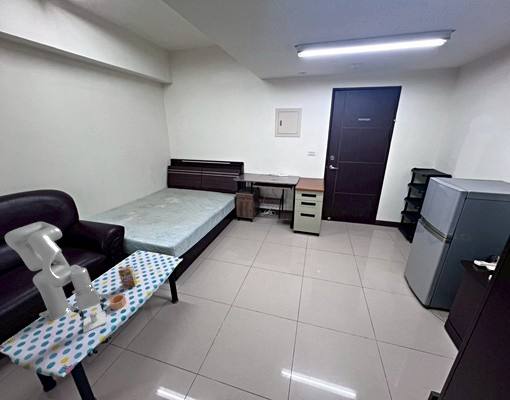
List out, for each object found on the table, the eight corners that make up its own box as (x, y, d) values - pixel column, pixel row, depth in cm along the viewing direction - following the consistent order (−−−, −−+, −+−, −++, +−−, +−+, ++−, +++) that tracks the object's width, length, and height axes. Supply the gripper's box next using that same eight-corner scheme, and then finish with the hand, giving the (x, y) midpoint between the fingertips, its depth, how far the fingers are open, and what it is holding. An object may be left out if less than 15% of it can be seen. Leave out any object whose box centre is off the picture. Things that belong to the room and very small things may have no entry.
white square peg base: (83, 333, 123) (80, 325, 122) (84, 320, 132) (81, 313, 130) (106, 322, 130) (104, 315, 128) (105, 311, 138) (103, 304, 136)
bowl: (111, 312, 138) (110, 306, 136) (110, 304, 144) (108, 298, 143) (127, 305, 143) (125, 299, 141) (125, 298, 149) (123, 292, 148)
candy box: (122, 288, 159) (117, 270, 154) (125, 284, 163) (120, 267, 158) (135, 286, 160) (131, 269, 155) (137, 283, 164) (133, 265, 160)
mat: (85, 334, 123) (84, 333, 123) (85, 320, 133) (85, 319, 133) (105, 324, 129) (105, 323, 129) (104, 312, 138) (104, 311, 138)
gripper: (64, 299, 115) (74, 324, 121) (102, 285, 125) (110, 309, 130) (65, 292, 121) (75, 316, 126) (102, 279, 131) (109, 302, 136)
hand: (93, 312), depth 128 cm, fingers open, 9 cm apart
